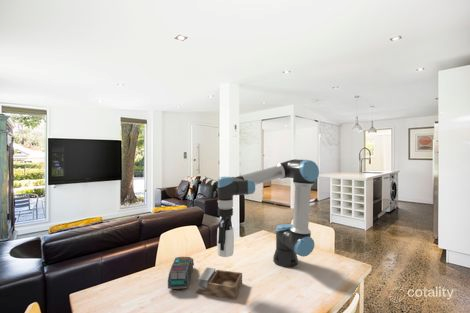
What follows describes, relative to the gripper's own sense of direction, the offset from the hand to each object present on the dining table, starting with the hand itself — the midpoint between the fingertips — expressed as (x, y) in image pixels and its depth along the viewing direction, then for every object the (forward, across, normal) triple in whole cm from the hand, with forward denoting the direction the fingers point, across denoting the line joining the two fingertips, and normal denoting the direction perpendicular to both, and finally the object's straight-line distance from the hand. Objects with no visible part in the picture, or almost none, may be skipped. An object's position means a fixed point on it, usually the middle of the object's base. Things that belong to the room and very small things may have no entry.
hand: (225, 252), depth 120 cm
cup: (+2, 0, 0) cm, 2 cm away
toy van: (+19, -4, -26) cm, 33 cm away
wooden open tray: (+19, 0, -3) cm, 19 cm away
